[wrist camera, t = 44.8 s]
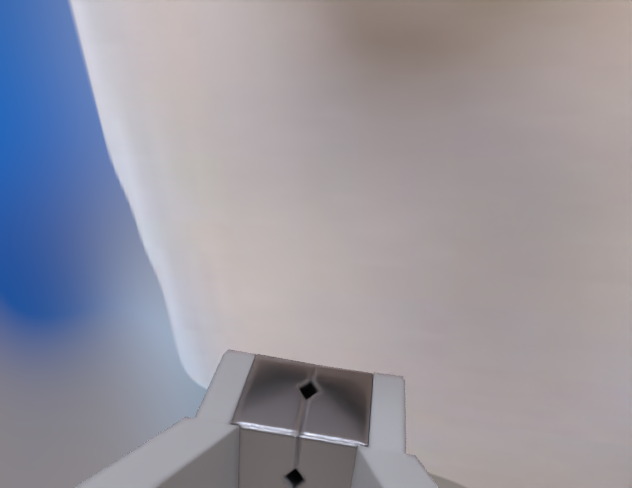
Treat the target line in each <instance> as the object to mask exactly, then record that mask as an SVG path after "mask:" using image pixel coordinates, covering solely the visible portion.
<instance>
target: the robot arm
mask: <svg viewBox="0 0 632 488" xmlns="http://www.w3.org/2000/svg"><path fill="white" fill-rule="evenodd" d="M74 488H439V487H438V485H437V484H436V483H435V481H434V480H433V479H432V477H431V476H430V474H429V473H428V472H427V470H426V469H425V468H424V466H423V465H422V464H421V462H420V461H419V460H418V458H417V457H416V456H415V455H410V454H406V416H405V380H404V378H403V376H395V375H388V374H380V373H373V374H372V373H368V372H362V371H355V370H348V369H342V368H335V367H328V366H322V365H315V364H310V363H304V362H299V361H293V360H288V359H282V358H276V357H271V356H265V355H260V354H258V355H256V354H252V353H246V352H240V351H235V350H228V351H227V352H226V353H225V354H224V355H223V357H222V359H221V361H220V363H219V365H218V367H217V370H216V372H215V374H214V376H213V378H212V381H211V383H210V385H209V387H208V389H207V392H206V394H205V396H204V398H203V401H202V403H201V405H200V407H199V409H198V411H197V414H196V416H195V418H189V417H184V418H183V419H181V420H180V421H178V422H177V423H175V424H173V425H172V426H170V427H169V428H167V429H166V430H164V431H163V432H161V433H159V434H158V435H156V436H154V437H153V438H151V439H150V440H148V441H146V442H145V443H143V444H142V445H140V446H138V447H137V448H135V449H134V450H132V451H131V452H129V453H127V454H126V455H125V456H123V457H121V458H120V459H118V460H116V461H115V462H113V463H112V464H110V465H108V466H107V467H105V468H104V469H102V470H100V471H99V472H97V473H96V474H94V475H93V476H91V477H89V478H88V479H86V480H85V481H83V482H81V483H80V484H78V485H77V486H75V487H74Z"/></svg>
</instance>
